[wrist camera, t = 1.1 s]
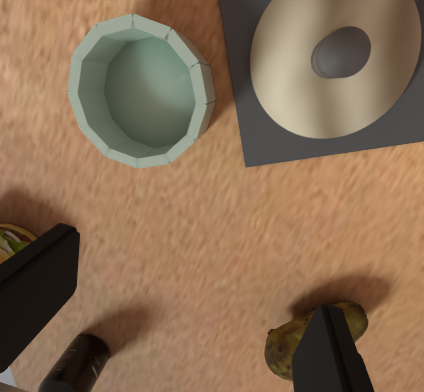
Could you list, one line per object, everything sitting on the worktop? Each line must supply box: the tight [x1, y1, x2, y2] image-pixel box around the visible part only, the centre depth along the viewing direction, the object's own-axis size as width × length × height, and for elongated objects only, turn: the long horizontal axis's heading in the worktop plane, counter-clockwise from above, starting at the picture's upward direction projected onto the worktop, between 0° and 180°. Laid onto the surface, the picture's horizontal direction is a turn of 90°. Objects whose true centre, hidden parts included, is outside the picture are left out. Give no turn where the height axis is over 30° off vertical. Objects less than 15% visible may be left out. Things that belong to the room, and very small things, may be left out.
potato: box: [265, 301, 368, 381], centre depth 36 cm, size 8×13×8 cm, turn 101°
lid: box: [250, 0, 421, 139], centre depth 25 cm, size 15×15×6 cm
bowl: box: [67, 14, 216, 169], centre depth 29 cm, size 13×13×6 cm
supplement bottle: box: [38, 335, 109, 392], centre depth 43 cm, size 7×7×12 cm
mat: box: [219, 0, 424, 167], centre depth 28 cm, size 19×19×1 cm
